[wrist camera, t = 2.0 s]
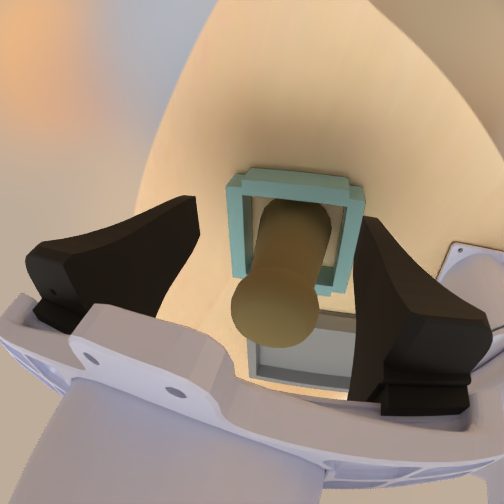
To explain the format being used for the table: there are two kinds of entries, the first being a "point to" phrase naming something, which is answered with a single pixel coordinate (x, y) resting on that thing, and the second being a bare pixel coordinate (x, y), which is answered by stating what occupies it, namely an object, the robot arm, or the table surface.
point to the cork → (283, 275)
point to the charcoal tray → (310, 356)
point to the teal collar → (298, 189)
